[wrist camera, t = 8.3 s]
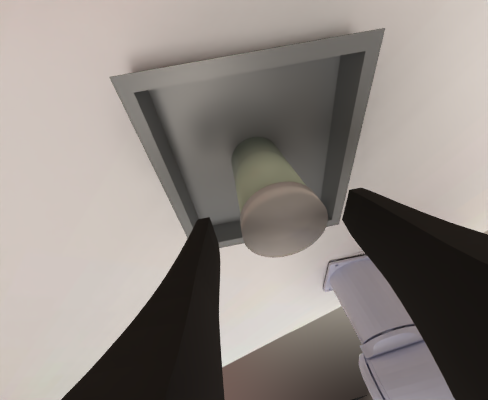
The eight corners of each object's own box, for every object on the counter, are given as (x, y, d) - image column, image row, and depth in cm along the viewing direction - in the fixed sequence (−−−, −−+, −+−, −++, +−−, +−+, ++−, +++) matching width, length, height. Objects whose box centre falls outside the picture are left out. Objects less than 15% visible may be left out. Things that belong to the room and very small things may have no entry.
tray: (350, 35, 12) (385, 27, 9) (323, 205, 20) (338, 224, 18) (131, 74, 11) (109, 77, 9) (197, 230, 20) (194, 253, 17)
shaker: (279, 130, 14) (334, 185, 8) (280, 178, 17) (322, 248, 10) (225, 140, 14) (235, 204, 8) (234, 186, 17) (248, 263, 10)
